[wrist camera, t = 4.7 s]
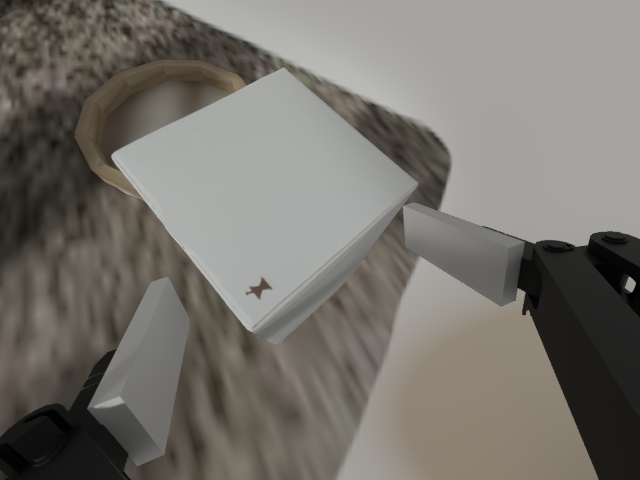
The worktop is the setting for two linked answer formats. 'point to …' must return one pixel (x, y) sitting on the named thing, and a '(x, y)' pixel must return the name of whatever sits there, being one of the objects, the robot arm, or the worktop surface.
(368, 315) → the worktop surface
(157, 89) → the tan plate
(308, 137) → the supplement box
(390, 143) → the worktop surface
